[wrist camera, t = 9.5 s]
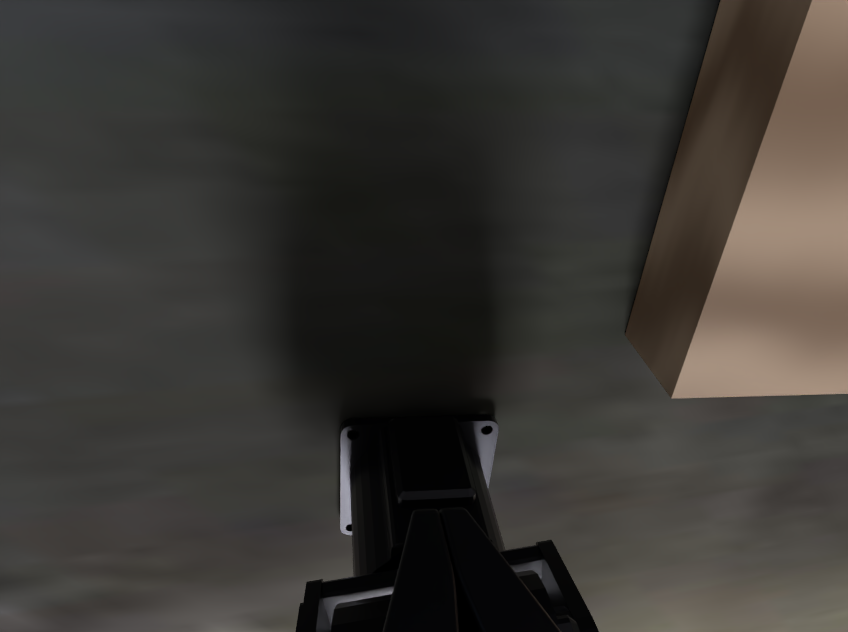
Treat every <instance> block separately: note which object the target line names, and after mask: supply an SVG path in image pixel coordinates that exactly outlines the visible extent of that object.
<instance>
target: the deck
mask: <svg viewBox="0 0 848 632" xmlns="http://www.w3.org/2000/svg"><path fill="white" fill-rule="evenodd" d="M625 336H626V337H627V338H628V340H629V341H630V342H631V344H632V345H633V347H634V348H635V349H636V351H637V352H638V353H639V355H640V356H641V358H642V359H643V360H644V362H645V363H646V364H647V366H648V367H649V368H650V370H651V371H652V373H653V374H654V375H655V377H656V378H657V379H658V381H659V382H660V384H661V385H662V386H663V388H664V389H665V390H666V392H667V393H668V395H669V396H670V397H671V398H705V397H741V396H777V395H813V394H848V0H720V4H719V7H718V11H717V14H716V18H715V21H714V25H713V28H712V32H711V35H710V39H709V42H708V46H707V49H706V53H705V56H704V60H703V63H702V67H701V70H700V74H699V77H698V81H697V84H696V88H695V91H694V95H693V98H692V102H691V105H690V109H689V112H688V116H687V119H686V123H685V126H684V130H683V133H682V137H681V140H680V144H679V147H678V151H677V154H676V158H675V161H674V165H673V168H672V172H671V175H670V179H669V182H668V186H667V189H666V193H665V196H664V200H663V203H662V207H661V210H660V214H659V217H658V221H657V224H656V228H655V231H654V235H653V238H652V242H651V245H650V249H649V252H648V256H647V260H646V263H645V267H644V270H643V274H642V277H641V281H640V284H639V288H638V291H637V295H636V298H635V302H634V305H633V309H632V312H631V316H630V319H629V323H628V326H627V330H626V333H625Z"/></svg>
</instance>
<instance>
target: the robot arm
mask: <svg viewBox="0 0 848 632" xmlns="http://www.w3.org/2000/svg"><path fill="white" fill-rule="evenodd" d="M487 425H488V426H489V427H487V428H483V427H484V426H487ZM350 430H357V432H354V433H351V432H349V431H350ZM498 430H499V428H498V424H497V421H496V419H495V417H493V416H491V415H454V416H421V417H388V418H355V419H348V420H346V421H344V422H343V424H342V425H341V428H340V529H341V532H343V533H344V534H346V535H352V547H353V572H354V577H349V578H343V579H337V580H331V581H325V582H323V579H321V580H315V581H309V582H307V583H306V589H305V596H304V603H300V607H299V614H298V620H297V627H296V632H599V631H598V629H597V626H596V624H595V622H594V620H593V618H592V616H591V614H590V612H589V610H588V608H587V606H586V604H585V602H584V600H583V599H582V597H581V595H580V593H579V591H578V589H577V587H576V585H575V583H574V581H573V580H572V578H571V576H570V574H569V572H568V570H567V568H566V566H565V564H564V563H563V561H562V559H561V557H560V555H559V553H558V551H557V549H556V547H555V545H554V544H553V542H552V540H547V541H541V542H536V545H534V546H528V547H522V548H517V549H511V550H505V547H504V544H503V540H502V537H501V533H500V530H499V526H498V523H497V519H496V516H495V512H494V509H493V505H492V502H491V498H490V495H489V491H488V487H489V481H490V476H491V470H492V464H493V459H494V453H495V447H496V442H497V436H498Z"/></svg>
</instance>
